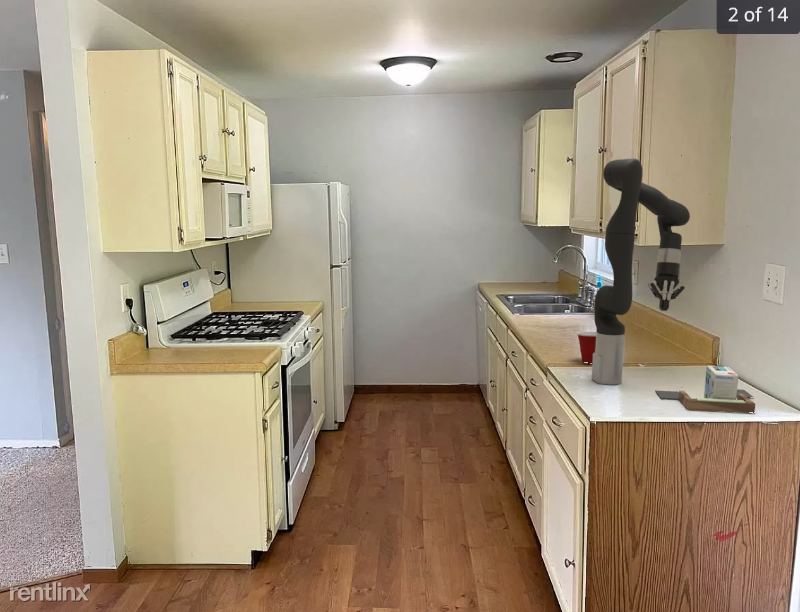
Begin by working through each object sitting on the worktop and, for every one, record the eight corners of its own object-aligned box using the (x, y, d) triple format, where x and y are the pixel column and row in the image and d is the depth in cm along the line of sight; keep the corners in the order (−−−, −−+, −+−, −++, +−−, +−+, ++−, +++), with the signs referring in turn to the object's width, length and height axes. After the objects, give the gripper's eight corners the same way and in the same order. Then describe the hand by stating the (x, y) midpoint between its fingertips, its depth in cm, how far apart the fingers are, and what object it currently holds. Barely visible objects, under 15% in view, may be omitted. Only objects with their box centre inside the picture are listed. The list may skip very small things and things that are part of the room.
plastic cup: (598, 358, 244) (600, 329, 242) (608, 365, 233) (610, 335, 232) (571, 359, 244) (572, 329, 242) (580, 366, 233) (581, 335, 231)
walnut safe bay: (678, 399, 193) (679, 389, 192) (741, 403, 189) (742, 392, 189) (687, 409, 183) (688, 399, 182) (754, 413, 180) (755, 402, 179)
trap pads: (651, 386, 207) (651, 385, 206) (744, 391, 202) (744, 389, 202) (661, 399, 193) (661, 397, 193) (761, 404, 188) (761, 402, 188)
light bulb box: (703, 398, 195) (705, 365, 193) (726, 399, 193) (729, 366, 191) (711, 408, 184) (714, 373, 183) (736, 410, 183) (739, 375, 181)
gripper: (655, 259, 214) (650, 308, 214) (692, 263, 215) (687, 312, 214) (645, 261, 222) (640, 308, 221) (681, 265, 222) (676, 312, 222)
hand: (663, 310), depth 218 cm, fingers closed
